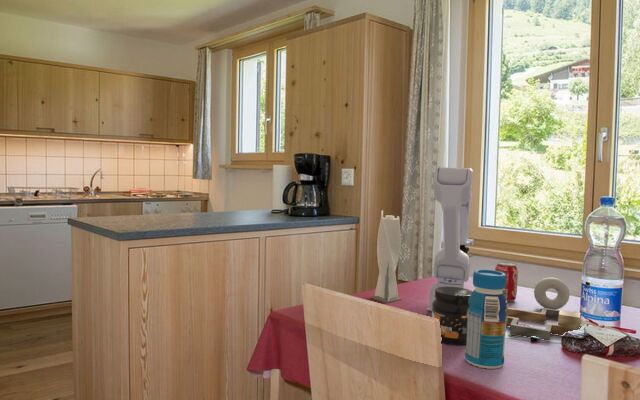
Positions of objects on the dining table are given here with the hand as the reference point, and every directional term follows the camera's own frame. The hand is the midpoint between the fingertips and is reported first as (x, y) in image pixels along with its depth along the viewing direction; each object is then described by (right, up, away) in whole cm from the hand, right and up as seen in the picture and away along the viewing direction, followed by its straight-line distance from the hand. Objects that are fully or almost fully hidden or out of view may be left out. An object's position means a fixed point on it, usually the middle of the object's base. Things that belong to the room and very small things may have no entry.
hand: (456, 269), depth 161 cm
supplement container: (-11, -12, -36) cm, 40 cm away
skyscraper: (-23, -9, -1) cm, 25 cm away
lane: (+16, -12, -24) cm, 31 cm away
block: (+22, -13, -28) cm, 38 cm away
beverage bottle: (-8, -14, -51) cm, 53 cm away
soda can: (+16, -11, +3) cm, 20 cm away
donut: (+27, -12, -7) cm, 30 cm away
